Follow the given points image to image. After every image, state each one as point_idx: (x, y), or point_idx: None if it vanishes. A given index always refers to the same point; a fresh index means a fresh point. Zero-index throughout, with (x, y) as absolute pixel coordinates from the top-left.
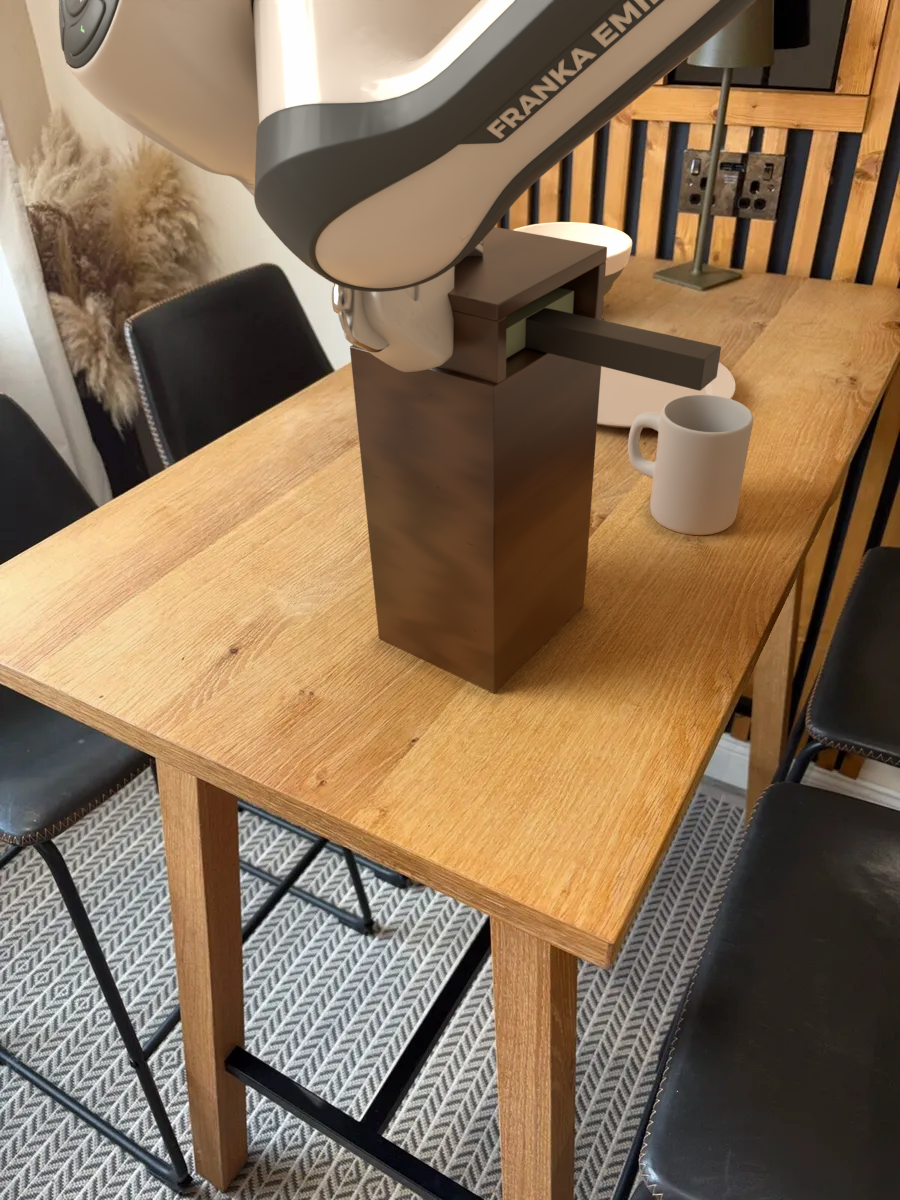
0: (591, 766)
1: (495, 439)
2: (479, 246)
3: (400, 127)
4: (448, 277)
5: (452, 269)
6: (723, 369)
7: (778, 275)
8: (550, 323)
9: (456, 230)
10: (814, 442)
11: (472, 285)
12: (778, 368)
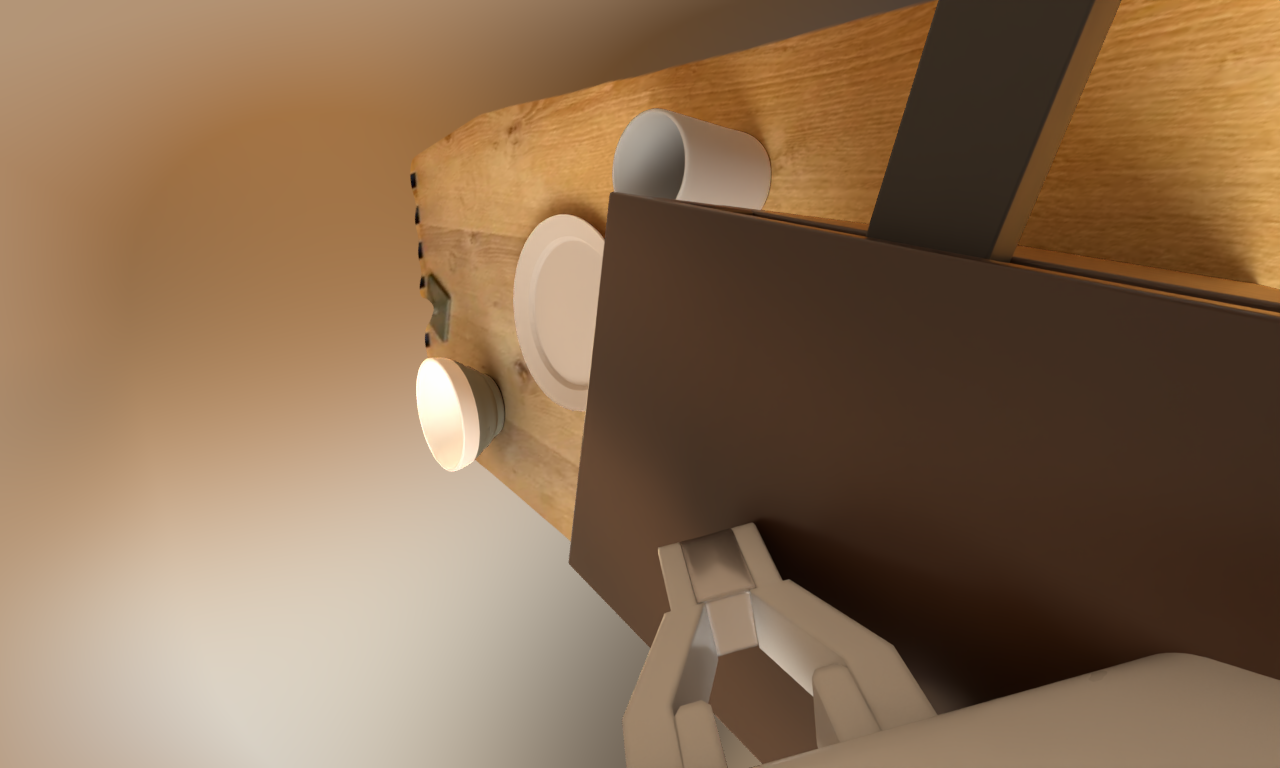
0: None
1: None
2: (748, 544)
3: None
4: (1254, 726)
5: (1141, 698)
6: (531, 238)
7: (422, 246)
8: (992, 234)
9: None
10: (594, 119)
11: (1130, 563)
12: (513, 198)
